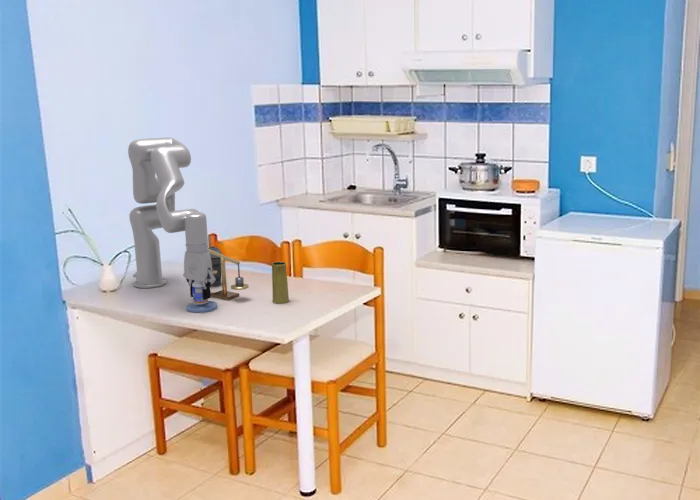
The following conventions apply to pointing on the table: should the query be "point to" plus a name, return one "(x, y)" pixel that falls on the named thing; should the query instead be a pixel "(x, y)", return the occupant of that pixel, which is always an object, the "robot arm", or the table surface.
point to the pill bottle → (198, 293)
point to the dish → (201, 307)
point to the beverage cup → (216, 265)
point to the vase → (279, 283)
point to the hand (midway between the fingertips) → (200, 297)
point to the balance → (238, 280)
